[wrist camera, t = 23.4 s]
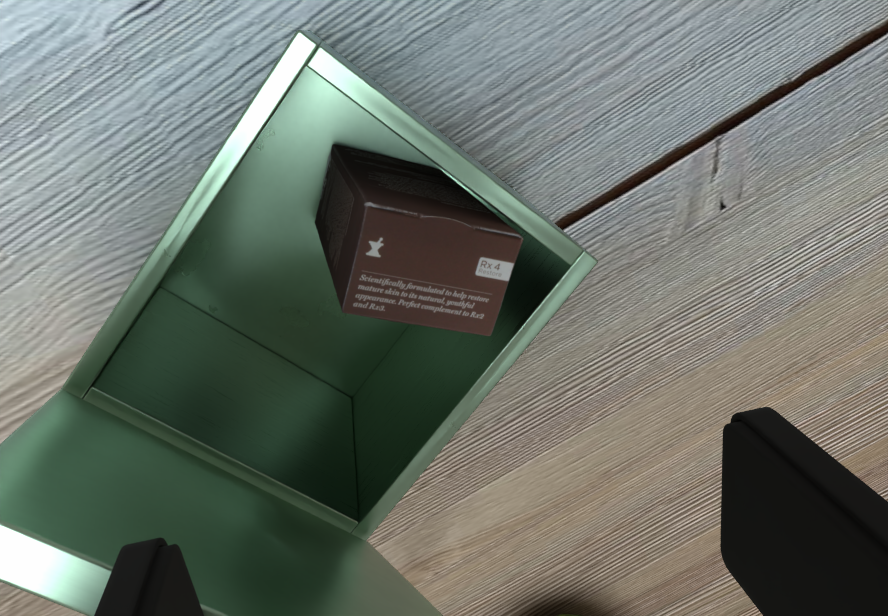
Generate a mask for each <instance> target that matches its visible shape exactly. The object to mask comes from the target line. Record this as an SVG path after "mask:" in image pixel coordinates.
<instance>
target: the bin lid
mask: <svg viewBox="0 0 888 616" xmlns="http://www.w3.org/2000/svg"><path fill="white" fill-rule="evenodd" d="M160 537H161V538H164V540H165V541H166V542H167V544H168V545H172V544H177V545H178V546H179V547H180V550H181V552H182V555H183V558H184V560H185V563H186V566H187V569H188V572H189V575H190V577H191V580H192V583H193V586H194V589H195V591H196V594H197V597H198V600H199V603H200V606H201V608H202V611H203V614H204V616H443V615H442V614H441V613H440V612H439V611H438V610H437V609H436V608H435V607H434V606H433V605H432V604H431V603H430V602H429V601H428V600H427V599H426V598H425V597H424V596H423V595H422V594H421V593H420V592H419V591H418V590H417V589H415V588H414V587H413V586H412V585H411V584H410V583H409V582H408V581H407V580H406V579H405V578H404V577H403V576H402V575H401V574H400V573H399V572H398V571H397V570H396V569H395V568H394V567H393V566H392V565H391V564H390V563H389V562H388V561H387V560H386V559H385V558H384V557H383V556H382V555H381V554H380V553H379V552H378V551H377V550H376V549H375V548H374V547H373V546H372V545H371V544H370V543H369V542H367V541H365V540H363V539H361V538H359V537H357V536H355V535H353V534H351V533H349V532H347V531H345V530H343V529H341V528H339V527H337V526H335V525H333V524H331V523H329V522H327V521H325V520H323V519H321V518H319V517H317V516H315V515H313V514H311V513H309V512H307V511H305V510H303V509H301V508H299V507H297V506H295V505H293V504H291V503H289V502H287V501H285V500H283V499H281V498H279V497H277V496H275V495H273V494H271V493H269V492H267V491H265V490H263V489H261V488H259V487H257V486H255V485H253V484H251V483H249V482H247V481H245V480H243V479H241V478H239V477H237V476H235V475H233V474H231V473H229V472H227V471H225V470H223V469H221V468H219V467H217V466H215V465H213V464H211V463H209V462H207V461H205V460H203V459H201V458H199V457H197V456H195V455H193V454H191V453H189V452H187V451H185V450H183V449H181V448H179V447H177V446H175V445H173V444H171V443H169V442H167V441H165V440H163V439H161V438H159V437H157V436H155V435H153V434H151V433H149V432H147V431H145V430H143V429H141V428H139V427H137V426H135V425H133V424H131V423H129V422H127V421H125V420H123V419H121V418H119V417H117V416H115V415H113V414H111V413H109V412H107V411H105V410H103V409H101V408H99V407H97V406H95V405H93V404H91V403H89V402H87V401H85V400H83V399H81V398H79V397H77V396H75V395H73V394H71V393H69V392H67V391H65V390H63V389H61V390H59V391H58V392H57V393H56V394H55V395H54V396H53V397H52V398H51V399H49V400H48V401H47V402H46V403H45V404H44V405H43V406H42V407H41V408H40V409H38V410H37V411H36V412H35V413H34V414H33V415H32V416H31V417H30V418H29V419H27V420H26V421H25V422H24V423H23V424H22V425H21V426H20V427H19V428H18V429H16V430H15V431H14V432H13V433H12V434H11V435H10V436H9V437H8V438H6V439H5V440H4V441H3V442H2V443H1V444H0V582H3V583H5V584H8V585H10V586H13V587H15V588H18V589H21V590H23V591H26V592H28V593H31V594H33V595H36V596H38V597H41V598H44V599H46V600H49V601H51V602H54V603H56V604H59V605H61V606H64V607H67V608H69V609H72V610H74V611H77V612H79V613H82V614H85V615H87V616H94V615H95V612H96V610H97V607H98V605H99V602H100V600H101V597H102V595H103V592H104V590H105V587H106V584H107V582H108V579H109V577H110V574H111V572H112V569H113V567H114V564H115V562H116V559H117V557H118V554H119V552H120V550H121V548H122V547H123V546H124V545H127V544H132V543H136V542H141V541H146V540H150V539H155V538H160Z"/></svg>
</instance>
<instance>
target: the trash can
mask: <svg viewBox="0 0 888 616" xmlns="http://www.w3.org/2000/svg"><path fill="white" fill-rule="evenodd" d="M333 144H337V145H341V146H346V147H351V148H355V149H359V150H363V151H368V152H372V153H376V154H381V155H385V156H388V157H393V158H397V159H401V160H405V161H409V162H413V163H417V164H421V165H425V166H429V167H433V168H436V169H440V170H442V171H443V172H444V173H445V174H447V175H448V176H449V177H450V178H452V179H453V180H454V181H455V182H457V183H458V184H459V185H460V186H462V187H463V188H464V189H465V190H467V191H468V192H469V193H470V194H471V195H473V196H474V197H475V198H476V199H477V200H479V201H480V202H481V203H482V204H484V205H485V206H486V207H487V208H488V209H490V210H491V211H492V212H494V213H495V214H496V215H497V216H498V217H500V218H501V219H502V220H503V221H504V222H506V223H507V224H508V225H509V226H510V227H512V228H513V229H514V230H515V231H517V232H518V233H519V234H520V235H521V236H522V237H523V242H522V245H521V248H520V251H519V253H518V256H517V259H516V262H515V265H514V267H513V270H512V273H511V276H510V279H509V282H508V285H507V288H506V291H505V294H504V297H503V301H502V304H501V307H500V310H499V313H498V317H497V319H496V322H495V325H494V328H493V331H492V334H491V336H485V335H478V334H471V333H465V332H458V331H451V330H445V329H439V328H432V327H426V326H420V325H414V324H406V323H399V322H392V321H387V320H382V319H376V318H370V317H365V316H359V315H353V314H347V313H343V312H342V310H341V306H340V303H339V301H338V297H337V293H336V290H335V288H334V284H333V280H332V277H331V274H330V271H329V268H328V264H327V262H326V258H325V255H324V251H323V248H322V245H321V241H320V238H319V235H318V232H317V229H316V225H315V219H316V214H317V210H318V206H319V200H320V196H321V192H322V187H323V180H324V177H325V172H326V168H327V162H328V157H329V154H330V151H331V147H332V145H333ZM597 263H598V260H597V259H596V258H594V257H593V256H592V255H591V254H590V253H589V252H587V251H586V250H585V249H584V248H583V247H582V246H580V245H579V244H578V243H577V242H576V241H574V240H573V239H572V238H571V237H570V236H569V235H567V234H566V233H565V232H564V231H563V230H562V229H560V228H559V227H558V226H557V225H556V224H554V223H553V222H552V221H551V220H550V219H549V218H547V217H546V216H545V215H544V214H543V213H542V212H540V211H539V210H538V209H537V208H536V207H535V206H533V205H532V204H531V203H530V202H529V201H527V200H526V199H525V198H524V197H523V196H522V195H520V194H519V193H518V192H517V191H515V190H514V189H513V188H511V187H510V186H509V185H508V184H506V183H505V182H504V181H502V180H501V179H500V178H499V177H497V176H496V175H495V174H493V173H492V172H491V171H490V170H488V169H487V168H486V167H484V166H483V165H482V164H481V163H479V162H478V161H477V160H475V159H474V158H473V157H472V156H470V155H469V154H468V153H466V152H465V151H464V150H463V149H461V148H460V147H459V146H457V145H456V144H455V143H454V142H452V141H451V140H450V139H448V138H447V137H446V136H445V135H443V134H442V133H441V132H439V131H438V130H437V129H436V128H434V127H433V126H432V125H430V124H429V123H428V122H427V121H425V120H424V119H423V118H421V117H420V116H419V115H418V114H416V113H415V112H414V111H413V110H411V109H410V108H409V107H407V106H406V105H405V104H404V103H402V102H401V101H400V100H398V99H397V98H396V97H395V96H393V95H392V94H391V93H389V92H388V91H387V90H386V89H384V88H383V87H382V86H380V85H379V84H378V83H377V82H375V81H374V80H373V79H371V78H370V77H369V76H368V75H366V74H365V73H364V72H362V71H361V70H360V69H359V68H357V67H356V66H355V65H353V64H352V63H351V62H350V61H348V60H347V59H346V58H344V57H343V56H342V55H341V54H339V53H338V52H337V51H335V50H334V49H333V48H332V47H330V46H329V45H328V44H326V43H325V42H324V41H323V40H321V39H320V38H319V37H317V36H316V35H315V34H314V33H312V32H311V31H310V30H308V31H307V30H297V31H296V33H295V34H294V36H293V37H292V39H291V40H290V42H289V44H288V45H287V47H286V48H285V50H284V51H283V53H282V54H281V56H280V57H279V59H278V60H277V62H276V63H275V65H274V66H273V68H272V69H271V71H270V72H269V74H268V75H267V77H266V78H265V80H264V81H263V83H262V85H261V86H260V88H259V89H258V91H257V92H256V94H255V95H254V97H253V98H252V100H251V101H250V103H249V104H248V106H247V107H246V109H245V110H244V112H243V113H242V115H241V116H240V118H239V119H238V121H237V123H236V124H235V126H234V127H233V129H232V130H231V132H230V133H229V135H228V136H227V138H226V139H225V141H224V142H223V144H222V145H221V147H220V148H219V150H218V151H217V153H216V154H215V156H214V157H213V159H212V160H211V162H210V164H209V165H208V167H207V168H206V170H205V171H204V173H203V174H202V176H201V177H200V179H199V180H198V182H197V183H196V185H195V186H194V188H193V189H192V191H191V192H190V194H189V195H188V197H187V198H186V200H185V202H184V203H183V205H182V206H181V208H180V209H179V211H178V212H177V214H176V215H175V217H174V218H173V220H172V221H171V223H170V224H169V226H168V227H167V229H166V230H165V232H164V233H163V235H162V236H161V238H160V239H159V241H158V243H157V244H156V246H155V247H154V249H153V250H152V252H151V253H150V255H149V256H148V258H147V259H146V261H145V262H144V264H143V265H142V267H141V268H140V270H139V271H138V273H137V274H136V276H135V277H134V279H133V281H132V282H131V284H130V285H129V287H128V288H127V290H126V291H125V293H124V294H123V296H122V297H121V299H120V300H119V302H118V303H117V305H116V306H115V308H114V309H113V311H112V312H111V314H110V315H109V317H108V318H107V320H106V322H105V323H104V325H103V326H102V328H101V329H100V331H99V332H98V334H97V335H96V337H95V338H94V340H93V341H92V343H91V344H90V346H89V347H88V349H87V350H86V352H85V353H84V355H83V356H82V358H81V360H80V361H79V363H78V364H77V366H76V367H75V369H74V370H73V372H72V373H71V375H70V376H69V378H68V379H67V381H66V382H65V384H64V385H63V387H62V388H61V389H63V390H65V391H67V392H69V393H71V394H73V395H75V396H77V397H79V398H81V399H83V400H85V401H87V402H89V403H91V404H93V405H95V406H97V407H99V408H101V409H103V410H105V411H107V412H109V413H111V414H113V415H115V416H117V417H119V418H121V419H123V420H125V421H127V422H129V423H131V424H133V425H135V426H137V427H139V428H141V429H143V430H145V431H147V432H149V433H151V434H153V435H155V436H157V437H159V438H161V439H163V440H165V441H167V442H169V443H171V444H173V445H175V446H177V447H179V448H181V449H183V450H185V451H187V452H189V453H191V454H193V455H195V456H197V457H199V458H201V459H203V460H205V461H207V462H209V463H211V464H213V465H215V466H217V467H219V468H221V469H223V470H225V471H227V472H229V473H231V474H233V475H235V476H237V477H239V478H241V479H243V480H245V481H247V482H249V483H251V484H253V485H255V486H257V487H259V488H261V489H263V490H265V491H267V492H269V493H271V494H273V495H275V496H277V497H279V498H281V499H283V500H285V501H287V502H289V503H291V504H293V505H295V506H297V507H299V508H301V509H303V510H305V511H307V512H309V513H311V514H313V515H315V516H317V517H319V518H321V519H323V520H325V521H327V522H329V523H331V524H333V525H335V526H337V527H339V528H341V529H343V530H345V531H347V532H349V533H351V534H353V535H355V536H357V537H359V538H361V539H363V540H365V541H366V540H367V539H368V538H369V537H370V536H371V534H372V533H373V532H374V531H375V529H376V528H377V527H378V526H379V525H380V523H381V522H382V521H383V520H384V519H385V517H386V516H387V515H388V514H389V513H390V511H391V510H392V509H393V508H394V507H395V505H396V504H397V503H398V502H399V501H400V499H401V498H402V497H403V496H404V495H405V493H406V492H407V491H408V490H409V489H410V487H411V486H412V485H413V484H414V483H415V481H416V480H417V479H418V478H419V477H420V475H421V474H422V473H423V472H424V471H425V469H426V468H427V467H428V466H429V465H430V463H431V462H432V461H433V460H434V459H435V457H436V456H437V455H438V454H439V453H440V451H441V450H442V449H443V448H444V447H445V445H446V444H447V443H448V442H449V441H450V439H451V438H452V437H453V436H454V435H455V433H456V432H457V431H458V430H459V429H460V427H461V426H462V425H463V424H464V423H465V421H466V420H467V419H468V418H469V417H470V415H471V414H472V413H473V412H474V411H475V409H476V408H477V407H478V406H479V404H480V403H481V402H482V401H483V400H484V398H485V397H486V396H487V395H488V394H489V392H490V391H491V390H492V389H493V388H494V386H495V385H496V384H497V383H498V382H499V380H500V379H501V378H502V377H503V376H504V374H505V373H506V372H507V371H508V370H509V368H510V367H511V366H512V365H513V364H514V362H515V361H516V360H517V359H518V358H519V356H520V355H521V354H522V353H523V352H524V350H525V349H526V348H527V347H528V346H529V344H530V343H531V342H532V341H533V340H534V338H535V337H536V336H537V335H538V334H539V332H540V331H541V330H542V329H543V328H544V326H545V325H546V324H547V323H548V322H549V320H550V319H551V318H552V317H553V316H554V314H555V313H556V312H557V311H558V310H559V308H560V307H561V306H562V305H563V304H564V302H565V301H566V300H567V299H568V298H569V296H570V295H571V294H572V293H573V292H574V290H575V289H576V288H577V287H578V286H579V284H580V283H581V282H582V281H583V279H584V278H585V277H586V276H587V275H588V273H589V272H590V271H591V270H592V269H593V267H594V266H595V265H596V264H597Z"/></svg>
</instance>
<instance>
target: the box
mask: <svg viewBox="0 0 888 616" xmlns="http://www.w3.org/2000/svg"><path fill="white" fill-rule="evenodd" d="M315 225H316V229H317V232H318V235H319V238H320V241H321V245H322V248H323V251H324V255H325V258H326V262H327V264H328V268H329V271H330V274H331V277H332V280H333V284H334V288H335V290H336V293H337V297H338V301H339V303H340V306H341V310H342V312H343V313H347V314H353V315H359V316H365V317H370V318H376V319H382V320H387V321H392V322H399V323H406V324H414V325H420V326H426V327H432V328H439V329H445V330H451V331H458V332H465V333H471V334H478V335H485V336H491V334H492V331H493V328H494V325H495V322H496V319H497V317H498V313H499V310H500V307H501V304H502V301H503V297H504V294H505V291H506V288H507V285H508V282H509V279H510V276H511V273H512V270H513V267H514V265H515V262H516V259H517V256H518V253H519V251H520V248H521V245H522V242H523V237H522V236H521V235H520V234H519V233H518V232H517V231H515V230H514V229H513V228H512V227H510V226H509V225H508V224H507V223H506V222H504V221H503V220H502V219H501V218H500V217H498V216H497V215H496V214H495V213H494V212H492V211H491V210H490V209H488V208H487V207H486V206H485V205H484V204H482V203H481V202H480V201H479V200H477V199H476V198H475V197H474V196H473V195H471V194H470V193H469V192H468V191H467V190H465V189H464V188H463V187H462V186H460V185H459V184H458V183H457V182H455V181H454V180H453V179H452V178H450V177H449V176H448V175H447V174H445V173H444V172H443V171H442V170H440V169H436V168H433V167H429V166H425V165H421V164H417V163H413V162H409V161H405V160H401V159H397V158H393V157H388V156H385V155H381V154H376V153H372V152H368V151H363V150H359V149H355V148H351V147H346V146H341V145H337V144H333V145H332V147H331V151H330V154H329V157H328V162H327V168H326V172H325V177H324V180H323V187H322V192H321V196H320V200H319V206H318V210H317V214H316V219H315Z"/></svg>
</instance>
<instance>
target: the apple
mask: <svg viewBox="0 0 888 616" xmlns="http://www.w3.org/2000/svg"><path fill="white" fill-rule="evenodd" d="M557 616H583V615H570V614H561V615H557Z"/></svg>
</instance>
